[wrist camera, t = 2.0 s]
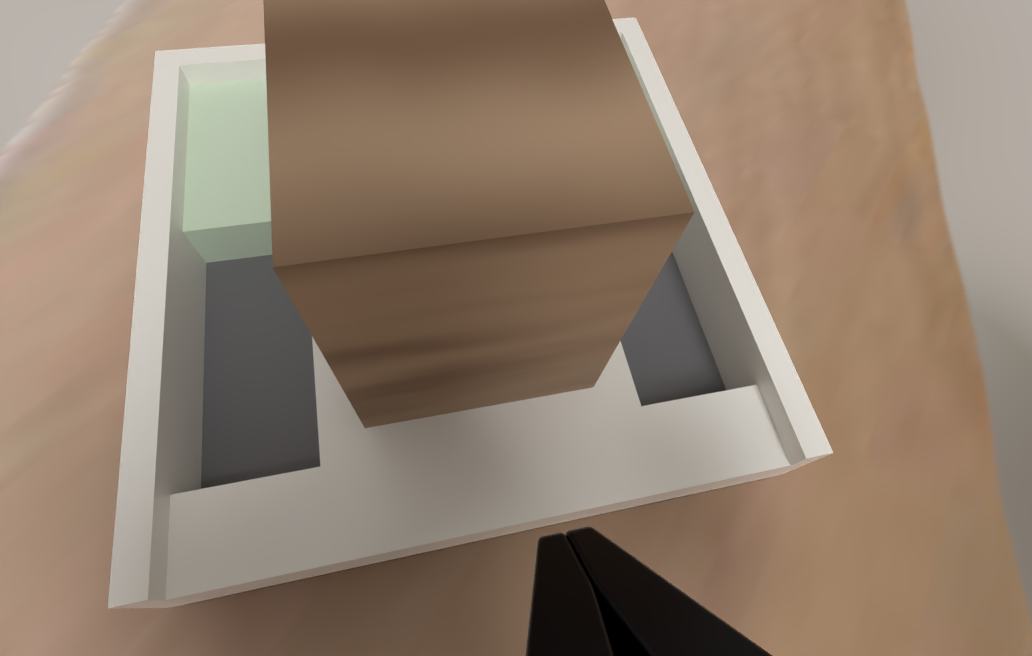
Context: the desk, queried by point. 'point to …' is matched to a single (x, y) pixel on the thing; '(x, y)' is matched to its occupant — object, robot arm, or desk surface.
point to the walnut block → (462, 195)
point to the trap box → (414, 443)
